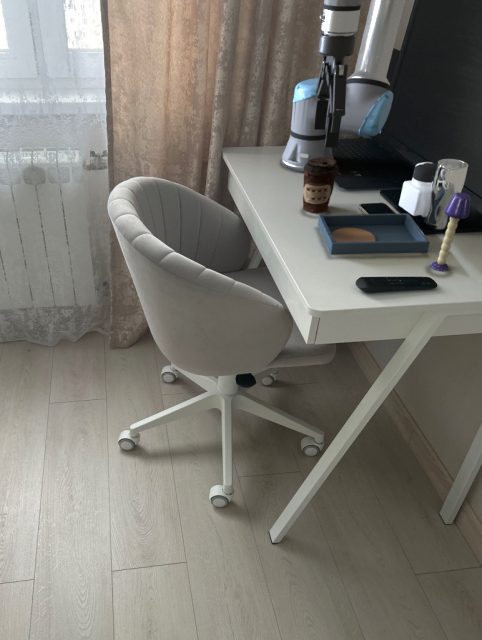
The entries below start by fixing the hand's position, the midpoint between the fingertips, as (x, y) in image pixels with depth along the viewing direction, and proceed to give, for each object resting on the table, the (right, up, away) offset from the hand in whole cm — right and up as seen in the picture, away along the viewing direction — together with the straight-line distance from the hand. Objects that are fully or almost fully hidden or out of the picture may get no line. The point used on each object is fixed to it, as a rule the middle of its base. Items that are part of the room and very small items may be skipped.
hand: (324, 137), depth 133 cm
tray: (+10, -25, -1) cm, 27 cm away
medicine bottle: (+26, -14, +12) cm, 32 cm away
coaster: (+6, -24, -2) cm, 25 cm away
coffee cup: (0, -14, +12) cm, 19 cm away
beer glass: (+28, -19, +6) cm, 35 cm away
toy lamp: (+22, -34, -11) cm, 42 cm away
